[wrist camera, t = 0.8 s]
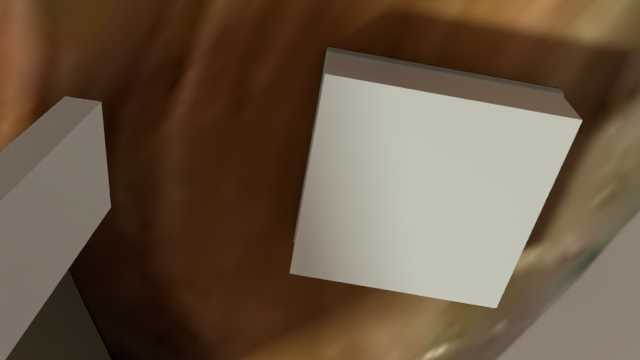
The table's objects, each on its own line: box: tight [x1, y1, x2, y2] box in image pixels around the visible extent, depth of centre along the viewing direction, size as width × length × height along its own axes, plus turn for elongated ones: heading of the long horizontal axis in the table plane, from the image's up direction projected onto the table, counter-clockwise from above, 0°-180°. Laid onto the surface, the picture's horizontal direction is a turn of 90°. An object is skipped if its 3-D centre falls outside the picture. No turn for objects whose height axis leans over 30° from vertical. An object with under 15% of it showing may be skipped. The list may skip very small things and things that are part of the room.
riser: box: [290, 47, 583, 308], centre depth 32 cm, size 13×13×4 cm
